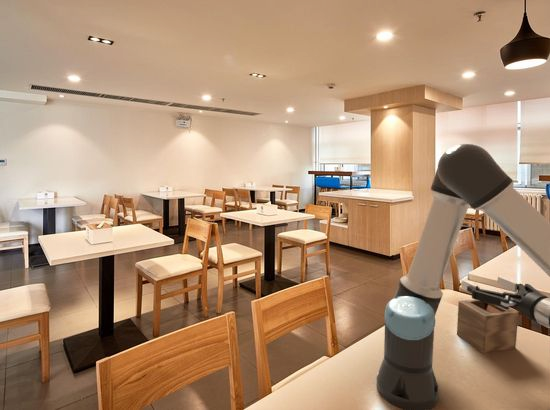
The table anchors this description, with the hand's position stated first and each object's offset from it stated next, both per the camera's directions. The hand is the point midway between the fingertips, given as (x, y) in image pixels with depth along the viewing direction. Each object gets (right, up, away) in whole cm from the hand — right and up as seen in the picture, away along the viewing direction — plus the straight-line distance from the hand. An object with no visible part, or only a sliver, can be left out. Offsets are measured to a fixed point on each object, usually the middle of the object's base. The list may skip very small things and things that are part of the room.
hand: (480, 282), depth 109 cm
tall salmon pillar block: (+1, -18, -1) cm, 18 cm away
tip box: (+1, -19, -1) cm, 19 cm away
